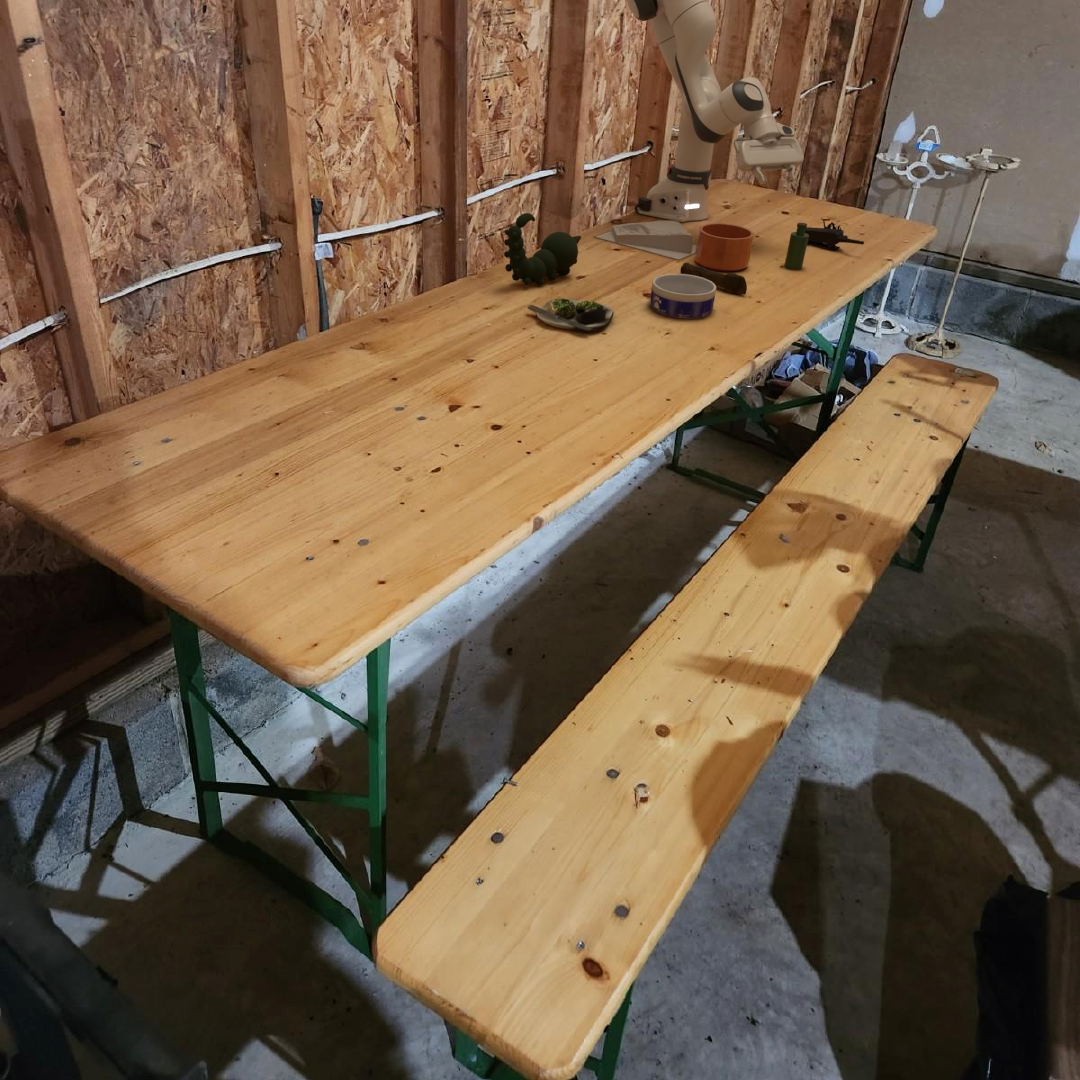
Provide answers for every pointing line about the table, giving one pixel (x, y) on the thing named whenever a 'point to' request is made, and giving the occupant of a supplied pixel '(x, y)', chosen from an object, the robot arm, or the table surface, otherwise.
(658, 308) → the dog bowl
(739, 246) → the pot
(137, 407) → the table surface
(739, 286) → the dark brown rough bar
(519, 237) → the toy figurine
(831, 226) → the creature
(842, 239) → the walkie-talkie
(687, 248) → the ramp
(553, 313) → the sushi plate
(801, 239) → the plant food bottle
